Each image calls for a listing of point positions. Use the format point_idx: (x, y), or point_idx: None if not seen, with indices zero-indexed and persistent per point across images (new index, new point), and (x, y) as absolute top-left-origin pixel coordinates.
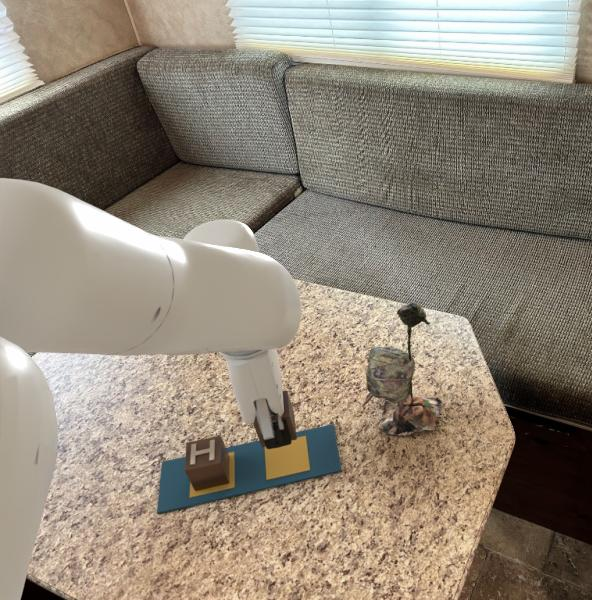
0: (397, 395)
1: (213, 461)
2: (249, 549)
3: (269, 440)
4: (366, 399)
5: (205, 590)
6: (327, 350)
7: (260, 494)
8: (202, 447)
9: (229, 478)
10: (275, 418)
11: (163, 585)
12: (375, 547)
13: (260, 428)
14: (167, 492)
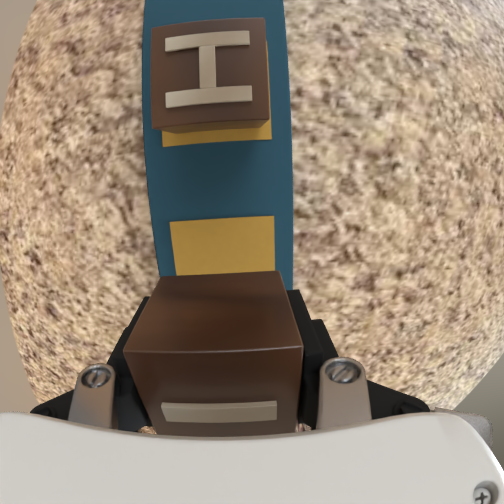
0: None
1: (162, 105)
2: (43, 194)
3: (114, 349)
4: (301, 427)
5: (2, 132)
6: (454, 331)
7: (143, 205)
8: (230, 63)
9: (190, 132)
10: (154, 418)
11: (21, 62)
12: (62, 370)
13: (75, 392)
14: (190, 4)
